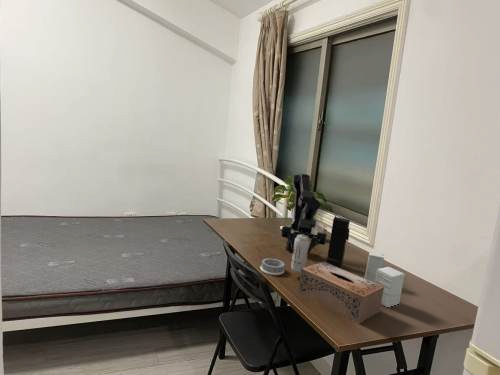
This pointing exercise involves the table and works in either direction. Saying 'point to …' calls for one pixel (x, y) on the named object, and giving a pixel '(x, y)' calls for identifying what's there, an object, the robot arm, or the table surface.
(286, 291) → the table surface
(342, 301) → the tissue box cover
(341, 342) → the table surface
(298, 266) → the energy drink can
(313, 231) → the architectural model on board
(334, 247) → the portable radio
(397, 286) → the supplement box
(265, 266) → the dock
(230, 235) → the table surface
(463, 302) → the table surface
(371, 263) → the skincare box
